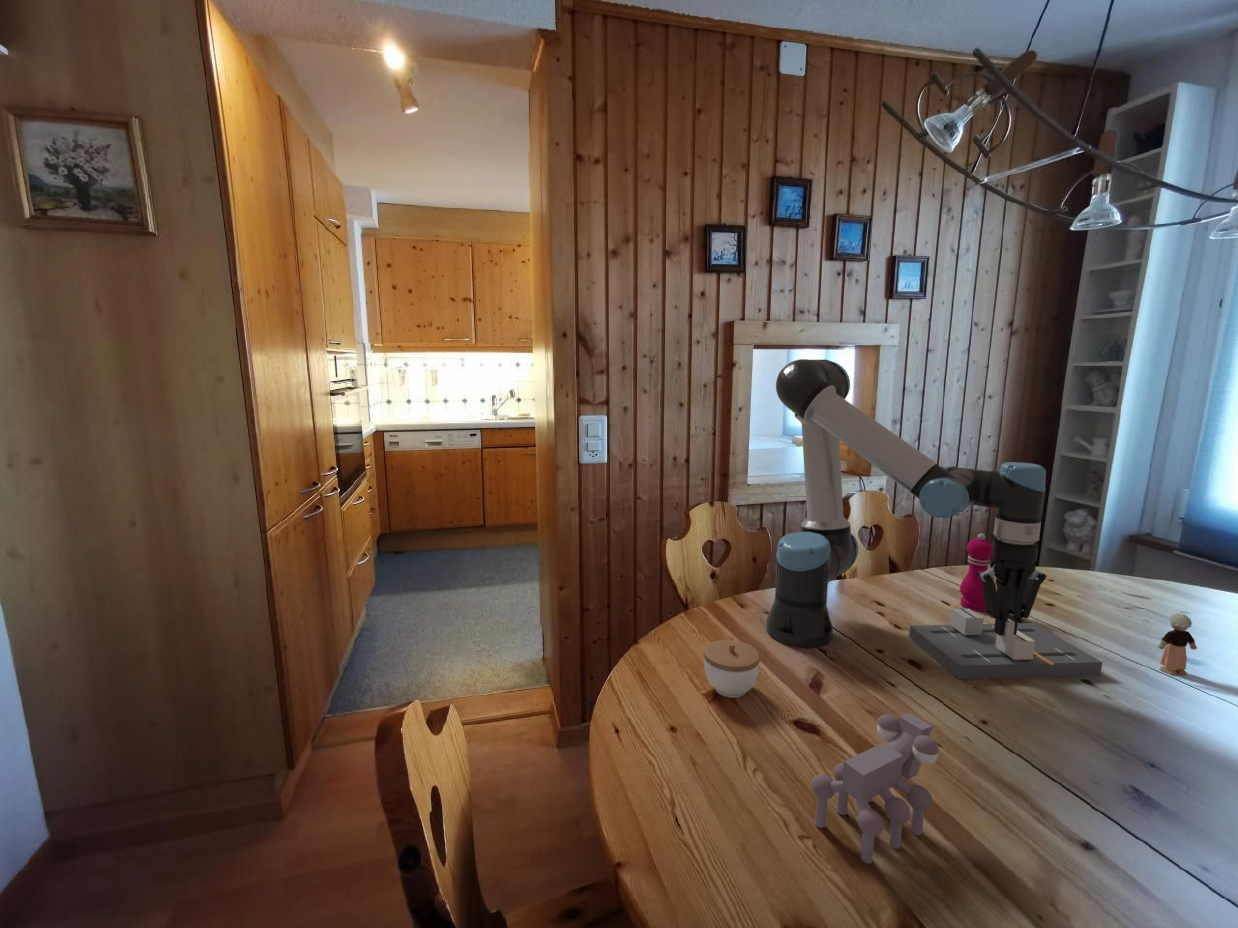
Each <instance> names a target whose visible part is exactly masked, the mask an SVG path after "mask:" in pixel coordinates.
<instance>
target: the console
mask: <svg viewBox="0 0 1238 928" xmlns="http://www.w3.org/2000/svg"><path fill="white" fill-rule="evenodd" d="M994 627H995V623H983V629H982V635H964V634H962V633H961V632H959V631H958V630H957V629H955V628H954V627H952V626H951V624H928V625H926V624H923V625H919V624H918V625H917V624H916V625H910V626H909V632H908V633H909V634H908V639H910V640H911V641H912V642H914V643H915V644H916V645H917V646H918V647H919V648H921V650H923V651H924V652H926V654H928V655H929V656H930V657H931V658H933V659H934V660H935V661H936V662H937V663H938V664H940V666H942V667H943V668H944V669H945V670H947V671H948V672H949V673H950V674H951V675H952V676H954V677H955V678H956V679H957V680H975V679H976V680H978V679H984V680H985V679H1018V678H1020V679H1021V678H1023V679H1024V678H1027V679H1028V678H1053V677H1054V678H1061V677H1062V678H1063V677H1068V678H1069V677H1101V676H1102V675H1101V674H1102V669H1103V661H1101V660H1100V659H1097V658H1096V657H1094V656H1093V655H1091V654H1089V653H1087V652H1085V651H1084V650H1082V649H1080V648H1078V647H1077V646H1075V645H1073V644H1072V643H1070V642H1068V641H1067V640H1064V639H1063V638H1061V637H1059V636H1057V635H1056V634H1054V633H1052V632H1051V631H1049V630H1047V629H1045V628H1044V627H1041V626H1040V625H1038V624H1037V623H1034V622H1030V623H1029V622H1028V623H1027V622H1025V623H1023V622H1022V623H1018V625H1017V630H1018V631H1020V632H1021V633H1023V634H1025V635H1026V636H1028V637H1029V638H1031V639H1033V640H1034V641H1035V648H1034V655H1033V659H1027V660H1014V659H1012V658H1011V657H1009V656H1008V655H1006V654H1005V653H1003V652H1002V651H1001V650H999V649H998V648H997V647H996V646H995V645H996V636H997V634H996V633H995V632H994Z"/></svg>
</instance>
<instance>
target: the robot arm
mask: <svg viewBox="0 0 1238 928" xmlns="http://www.w3.org/2000/svg"><path fill="white" fill-rule="evenodd" d="M850 380H851V379H850V376H849V374H848V371H846V368H844V367H843V366H842V365H840V364H839V363H838V362H835V361H832V360H828V359H808V358H807V359H806V358H805V359H804V358H803V359H802V358H801V359H796V360H793V361H791V362H789V363H787V364H786V365H785V366H784V367H783V368H781V370H780V371H779V373H778V375H777V378H776V381H775V390H776V391H775V392H776V394H777V397H778V398H779V401H780V402H781V403H782V404H783V405H784V406H785V407H786V408H787V409H788V410H790V411H791V412H793V413H794V417H795V419H797V420H798V421H799V422H800V423H801V437H802V451H803V452H802V453H803V454H802V455H803V467H804V468H803V470H804V471H803V472H804V485H805V486H804V489H805V490H804V491H805V505H806V518H805V519H804V520H803V521H802V522H801V524H800V527H801V531H798V532H790V533H787V534H785V535H784V536H782V537H781V538H780V539H779V541H778V543H777V550H776V555H775V557H776V569H775V572H776V573H775V592H774V594H775V595H774V600H773V603H772V606H771V608H770V610H769V612H768V615H767V618H766V621H765V622H766V625H765V626H766V627H765V628H766V629H765V630H766V632H767V635H769V636H770V637H771V638H773V639H774V640H776V641H777V642H780V643H783V644H786V645H789V646H793V647H799V648H819V647H824V646H826V645H828V644H830V643H831V642H832V641H833V636H834V635H833V634H834V626H833V623H832V620H831V617H830V612H829V609H828V606H827V605H828V604H827V602H828V601H827V600H828V590H829V589H828V588H829V587H828V585H829V582H831V581H832V580H835V578H837V577H839V576H841V575H843V574H844V573H846V572H848V571H849V569H850V568H852V567H853V565H854V564H855V562H856V561H857V559H858V556H859V544H858V541H857V540H858V539H856V537H855V535H853V534H852V530H851V522H850V521H849V520H848V519H847V518H846V517H844V506H843V505H844V504H843V502H844V501H843V487H842V486H843V485H842V466H841V464H842V463H841V449H840V448H841V447H840V445H841V444H840V442H841V443H843V444H844V445H845V446H847V447H848V448H850V449H851V450H852V451H854V452H855V453H856V454H857V455H858V456H860V457H862V458H863V459H864V460H866V461H867V462H869V463H870V464H871V465H872V466H874V467H875V468H876V469H877V470H879V471H881V472H882V473H883V474H884V475H886V476H887V477H889V478H890V479H891V480H892V481H894V482H896V483H897V485H899V486H901V487H902V488H904V489H905V490H906V491H908V492H909V493H911V494H912V495H913V496H914V497H916V498H917V499H918V501H919V504H920V506H921V508H922V509H923V510H924V512H925V513H927V514H928V515H930V516H932V517H934V518H939V519H947V518H950V517H954V516H957V515H959V514H960V513H962V512H964V511H966V509H967V508H968V507H969V506H975V507H976V506H978V507H986V508H992V509H993V508H994V509H995V517H994V527H993V535H994V538H993V539H992V556H991V557H992V560H991V562H990V565H989V567H988V568H987V570H986V571H985V572H982V571H979V572H978V576H979V578H980V580H981V582H982V588H983V595H984V602H985V609H986V611H985V614H986V615H988V616H990V617H991V618H992V619H993V618H994V619H995V621H994V624H995V627H994V632H995V633H996V634H997V636H996V645H995V646H996V647H997V648H999V649H1000V650H1002V651H1003V652H1012V643H1013V635H1016V633H1017V625H1018V623H1023V622H1024V620H1023V619H1028V618H1029V617H1030V615H1031V611H1032V610H1033V606H1034V603H1035V601H1036V598H1037V596H1038V594H1039V593H1038V592H1039V590H1040V587H1041V585H1042V584H1043V582H1044V581H1045V580H1046V579H1047V575H1046V574H1044V573H1043V572H1041V571H1039V570H1037V569H1036V565H1035V562H1037V560H1038V553H1039V544H1038V543H1037V542H1038V541H1040V534H1041V526H1042V525H1041V524H1042V519H1043V509H1044V503H1045V498H1046V497H1045V495H1046V491H1047V488H1046V481H1047V479H1046V478H1047V470H1046V468H1044V467H1043V466H1042V465H1040V464H1036V463H1030V462H1017V461H1016V462H1015V461H1013V462H1012V461H1010V462H1009V461H1007V462H1004V463H1002V464H1001V465H1000V469H999V470H986V469H985V470H983V469H975V468H965V467H957V466H943V465H942V466H941V465H939V464H938V463H937V462H935V460H932V459H931V458H930V457H928V456H927V455H926V454H924V453H923V452H921V451H919V450H918V449H917V448H916V447H914V446H913V445H911V444H910V443H908V442H907V441H905V440H904V439H902V438H901V437H900V436H898V435H896V433H894V432H892V431H891V430H889V429H888V428H887V427H885V426H884V425H883V424H881V423H879V422H878V421H876V420H875V419H874V418H873V417H871V416H869V415H868V414H867V413H865V412H864V411H861V409H859V408H858V407H857V406H855V405H853V404H852V403H850V402H849V401H848V400H846V398H847V396H848V395H849V393H850V389H851V381H850Z"/></svg>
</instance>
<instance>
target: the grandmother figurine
mask: <svg viewBox="0 0 1238 928" xmlns="http://www.w3.org/2000/svg"><path fill="white" fill-rule="evenodd" d="M1169 623H1170V626H1171V628H1172V629H1173V630H1171V631H1170V630H1169V631H1168V632H1166V633H1165V634H1164V636H1163V637H1162V638H1161V640H1160V642H1159V644H1158V645H1157V647H1158V649H1160V650H1164V651H1163V653H1162V656H1161V660H1160V665H1161V666H1160V668H1159V670H1160V671H1162V672H1163V673H1166V674H1167V675H1171V676H1178V674H1180V675H1184V676H1185V675H1187V674H1188V673H1187V671H1186V669H1187V660H1188V657H1187V648H1186V647H1187V646H1188V645H1189V648H1190V649H1191V650H1194V651H1196V650H1197V649H1198V647H1197V645H1196V642H1195V639H1194V637H1193V636H1192V634H1191V633H1190V632H1189V631H1187V629H1189V628H1191V627H1192V625H1193V622H1192V620H1191V618H1190V617H1189V616H1188V615H1186V614H1185V613H1180V612H1179V613H1176V612H1174V613H1173V614H1171V615H1170V616H1169Z"/></svg>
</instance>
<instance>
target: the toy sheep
mask: <svg viewBox="0 0 1238 928" xmlns="http://www.w3.org/2000/svg"><path fill="white" fill-rule="evenodd" d="M935 725H936V724H935V723H932V722H927V721H924V720H922V719H921V718H918V717H917V716H915V715H913V714H912V713H910V712H908V713H906V714H903V715H899V716H898V719H897V718H896V717H895V716H894V715H892V714H888V713H886V714H882V715H881V716H879V717H878V719H877V725H876V732H877V735H878V736H879V738H881V739H882V740H883V741H885V742H888V743H887V744H886V743H885V742H881V743H879V744H878V745H876V746H874V747H871V748H869V749H867V750H865V751H863V752H861V753H859V754H857V755H854V756H853V757H850V758H848V759H846V760H843V762H840V763H838V764H837V765H835V767H834V768H833V777H834V780H833V779H832V778H831V777H830V776H829V775H826V774H823V773H822V774H821V773H820V774H818V775H817V774H816V776H814V777H813V778H812V782H811V788H812V791H813V793H814V794H815V796H816V804H815V819H814V825H815V826H816V827H817V828H820V829H825V828H826V821H827V820H826V819H827V808H828V800H830V799H832V798H833V796H834V795H835V794H837V803H836V812H837V813H838V814H839V815H842V816H846V815H847V814H848V803H849V796H851V797H852V798H853V799H855V801H856V804H857V807H858V809H859V813H858V815H857V825H858V827H859V829H860V831H861V832H862V839H861V840H862V841H861V853H860V858H861V859H860V860H861V861H862V862H863V863H864V864H865V863H866V864H872V862H873V859H874V858H873V857H874V847H875V845H874V844H875V838H876V837H878V836H879V837H880V835H882V833H883V831H884V827H885V826H884V819H883V818H882V816H881V815H880V814H879V813H878V812H877V811H876V810H874V809H872V808H871V806H870V804H869V803H871V802H872V801H873V798H874V797H876V796H878V795H880V796H881V798H882V799H883V800H884V802H885V803H884V812H885V815H886V816H887V818H888V819H889V820H890V828H889V829H890V830H889V838H888V839H889V840H888V843H889V844H888V845H889V846H890V847H892V848H893V849H896V850H897V849H898V850H899V849H900V848H901V845H902V832H903V825H904V824H906V823H907V822H908V821H909V820H911V823H910V832H911V833H912V834H913V835H916V836H921V835H922V834H923V825H924V817H925V816H924V815H925V811H928V810H929V809H930V808H931V807H932V803H933V799H932V795H931V793H930V791H929V790H928V789H927V788H926V787H924V786H922V785H920V784H910V783H909V782H907V781H906V780H910V779H912V778H914V777H916V776H918V775H919V771H920V768H921V766H922V765H932V764H934V763H936V761H937V760H938V757H939V746H938V744H937V742H936V740H934V738H933V737H931V736H930V734H931V732H932V731H933V728H934V727H935ZM902 777H903V778H904V779H906V780H904V779H903V778H902ZM893 787H896V788H897V789H899V790H900V791H901V792H903V793H904V795H906V800H907V801H908V803H907V802H906V801H905V800H904V799H903V798H902V797H899V796H895V795H894V794H893V793H892V792H891V788H893ZM908 804H909V805H908ZM910 806H911V807H912V809H911V810H912V811H911V810H910ZM910 818H911V819H910Z"/></svg>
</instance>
